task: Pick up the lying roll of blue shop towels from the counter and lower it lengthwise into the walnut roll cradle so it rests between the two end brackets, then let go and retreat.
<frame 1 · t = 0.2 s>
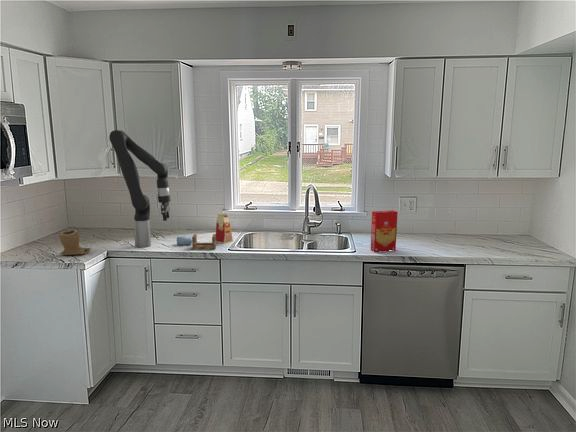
hand: (166, 219, 284), 17 cm above the countertop, tool pointing down, fingers open, 8 cm apart
milk carton: (223, 241, 299), on the countertop
tan hollow boot-shaped piece: (74, 254, 265), on the countertop
food packaging: (383, 250, 278), on the countertop
roll: (184, 240, 289), point 3 cm above the countertop
cradle: (204, 247, 282), on the countertop
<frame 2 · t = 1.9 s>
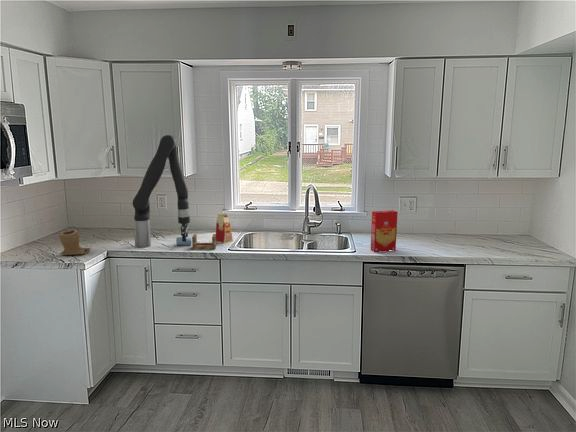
hand: (185, 239, 289), 3 cm above the countertop, tool pointing down, fingers open, 8 cm apart
roll: (184, 241, 288), point 3 cm above the countertop, tilted 48°
everything else where it was.
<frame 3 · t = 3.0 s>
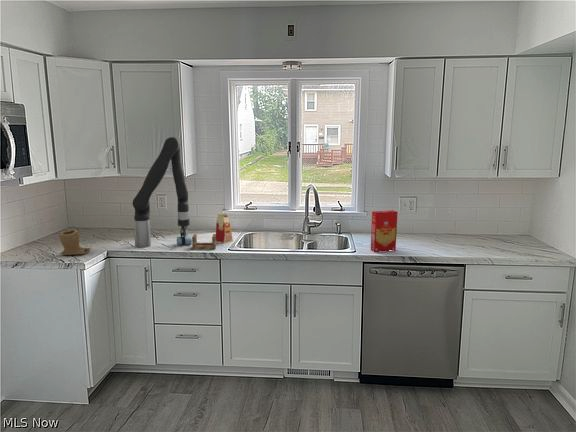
hand: (184, 243, 290), 1 cm above the countertop, tool pointing down, fingers closed on roll, 5 cm apart
roll: (184, 240, 289), point 3 cm above the countertop, tilted 19°, touching gripper
everything else where it was.
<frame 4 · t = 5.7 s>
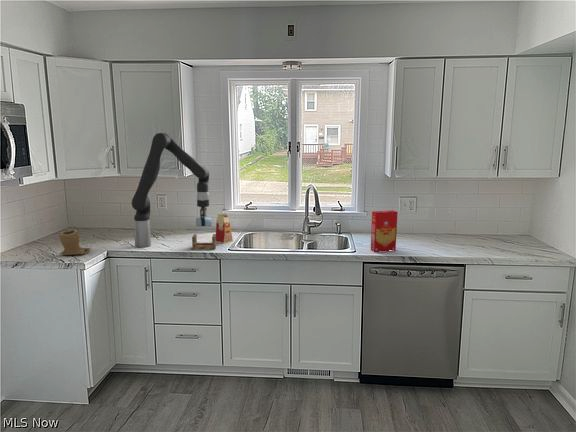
hand: (203, 225, 279), 15 cm above the countertop, tool pointing down, fingers closed on roll, 5 cm apart
roll: (203, 222, 279), point 17 cm above the countertop, tilted 19°, touching gripper
everything else where it was.
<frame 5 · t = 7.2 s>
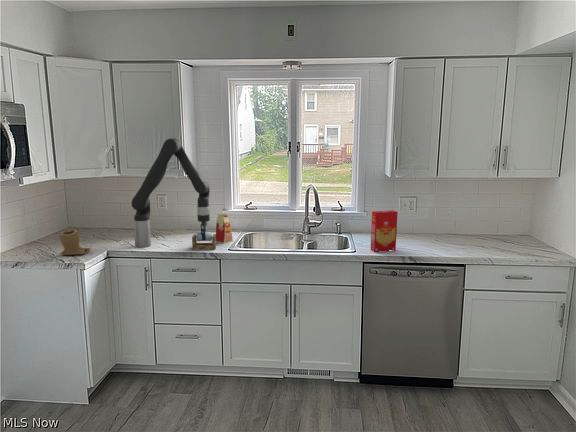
hand: (204, 239, 281), 5 cm above the countertop, tool pointing down, fingers closed on roll, 5 cm apart
roll: (204, 236, 281), point 7 cm above the countertop, tilted 19°, touching gripper
everything else where it was.
when the fingers open (3 cm above the countertop, at t = 8.6 s): roll drops 1 cm, resting on cradle.
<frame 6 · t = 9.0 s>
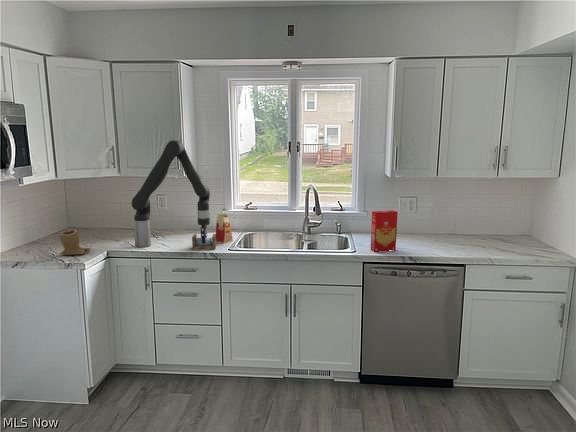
hand: (204, 241, 281), 4 cm above the countertop, tool pointing down, fingers open, 8 cm apart
roll: (204, 242, 281), point 4 cm above the countertop, tilted 19°, touching cradle
everything else where it was.
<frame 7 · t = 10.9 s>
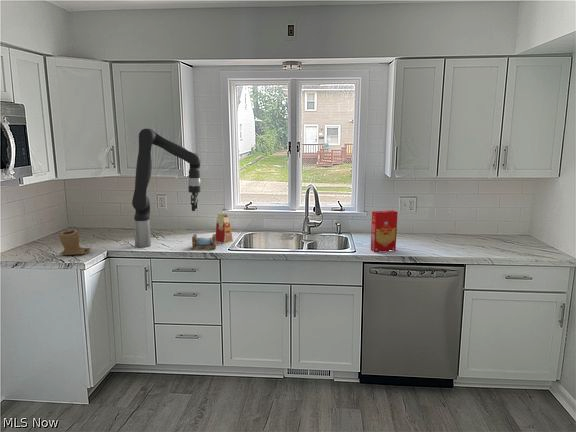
hand: (194, 209, 284), 24 cm above the countertop, tool pointing down, fingers open, 8 cm apart
nothing on the countertop moved.
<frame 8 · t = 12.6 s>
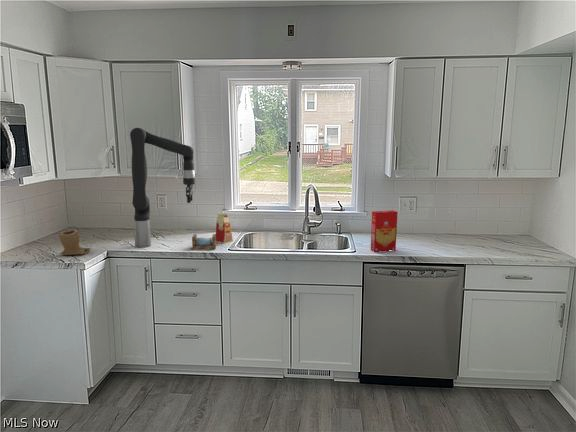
hand: (189, 201, 288), 28 cm above the countertop, tool pointing down, fingers open, 8 cm apart
nothing on the countertop moved.
at the end: roll 0.1 cm off-centre on the cradle, point 3.7 cm above the cradle's base; the gripper is holding nothing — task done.
